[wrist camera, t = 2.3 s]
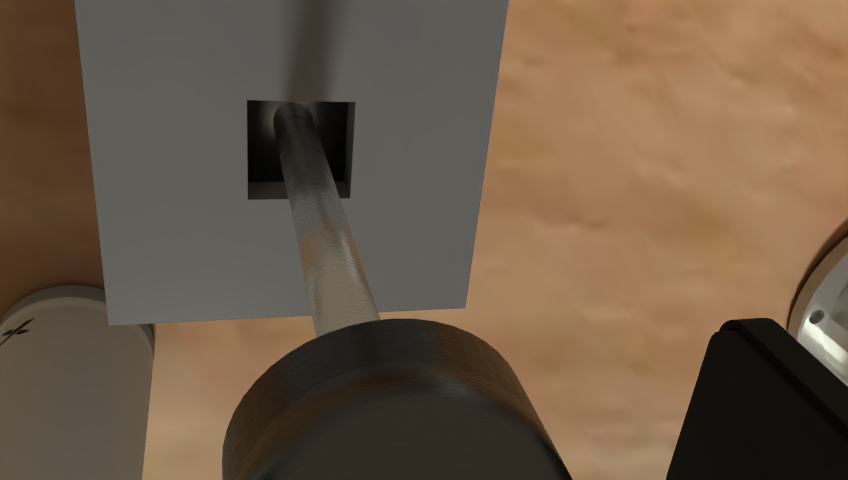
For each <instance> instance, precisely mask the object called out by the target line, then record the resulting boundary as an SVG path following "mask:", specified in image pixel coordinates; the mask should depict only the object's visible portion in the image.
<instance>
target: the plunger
mask: <svg viewBox="0 0 848 480" xmlns="http://www.w3.org/2000/svg"><path fill="white" fill-rule="evenodd" d="M347 117H348V102H326V101H268V100H247V164H248V182H285V186H286V191H287V196H288V201H289V205H290V210H291V215H292V220H293V225H294V230H295V235H296V240H297V245H298V250H299V254H300V259H301V264H302V269H303V274H304V279H305V284H306V289H307V294H308V299H309V303H310V308H311V313H312V318H313V323H314V328H315V333H316V338H315V339H313V340H311V341H309V342H307V343H305V344H303V345H302V346H300V347H298V348H297V349H295V350H293V351H291V352H290V353H288V354H287V355H285V356H284V357H283V358H282V359H280V360H279V361H278V362H276V363H275V364H274V365H272V366H271V367H270V368H269V369H268V370H267V371H266V372H265V373H264V374H263V375H262V376H261V377H260V378H259V379H257V380H256V382H255V383H254V384H253V385H252V387H251V388H250V389H249V390H248V392H247V393H246V394H245V395H244V397H243V398H242V400H241V402H240V403H239V405H238V407H237V408H236V410H235V412H234V413H233V416H232V418H231V421H230V423H229V426H228V428H227V431H226V436H225V440H224V444H223V456H222V479H223V480H572V478H571V476H570V474H569V472H568V470H567V468H566V467H565V465H564V463H563V461H562V459H561V457H560V455H559V454H558V452H557V450H556V448H555V446H554V444H553V443H552V441H551V439H550V437H549V435H548V433H547V431H546V430H545V428H544V426H543V424H542V422H541V420H540V418H539V417H538V415H537V413H536V411H535V409H534V407H533V406H532V404H531V402H530V400H529V398H528V396H527V394H526V393H525V391H524V389H523V387H522V385H521V383H520V381H519V380H518V378H517V376H516V374H515V373H514V371H513V370H512V368H511V366H510V365H509V363H508V362H507V361H506V360H505V359H504V358H503V357H502V356H501V355H500V353H499V352H498V351H496V350H495V349H494V348H493V347H491V346H490V345H489V344H488V343H486V342H485V341H483V340H482V339H480V338H478V337H476V336H475V335H473V334H471V333H469V332H467V331H464V330H462V329H459V328H456V327H454V326H451V325H447V324H443V323H439V322H435V321H427V320H419V319H385V320H380V317H379V314H378V311H377V308H376V305H375V302H374V299H373V296H372V293H371V290H370V287H369V284H368V281H367V278H366V275H365V272H364V269H363V266H362V263H361V260H360V257H359V254H358V251H357V248H356V245H355V242H354V239H353V236H352V233H351V230H350V227H349V224H348V221H347V218H346V215H345V212H344V209H343V207H342V204H341V201H340V198H339V195H338V192H337V189H336V186H335V183H334V182H343V181H344V174H345V155H346V136H347Z"/></svg>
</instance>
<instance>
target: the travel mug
mask: <svg viewBox="0 0 848 480" xmlns="http://www.w3.org/2000/svg"><path fill="white" fill-rule="evenodd" d="M154 349H155V347H154V338H153V334H152V332H151V329H150V326H149V324H133V325H113V326H109V324H108V315H107V305H106V296H105V290H103V289H99V288H95V287H91V286H82V285H62V286H55V287H50V288H46V289H42V290H39V291H37V292H34V293H32V294H29V295H27V296H26V297H24V298H23V299H21V300H20V301H18V302H17V303H15V304H14V305H13V306H12V307H11V308H10V309H9V310H8V311H7V312H6V313H5V315H4V316H3V318H2V320H1V321H0V480H142V473H143V462H144V452H145V442H146V432H147V421H148V411H149V401H150V390H151V380H152V368H153V359H154Z"/></svg>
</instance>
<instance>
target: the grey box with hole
mask: <svg viewBox="0 0 848 480" xmlns="http://www.w3.org/2000/svg"><path fill="white" fill-rule="evenodd" d="M508 1H509V0H74V3H75V12H76V22H77V31H78V40H79V50H80V59H81V69H82V78H83V88H84V97H85V107H86V116H87V126H88V135H89V144H90V154H91V163H92V173H93V182H94V192H95V201H96V211H97V220H98V230H99V239H100V249H101V258H102V267H103V277H104V286H105V296H106V305H107V315H108V324H109V326H113V325H133V324H153V323H173V322H193V321H213V320H234V319H254V318H274V317H294V316H312V313H311V308H310V303H309V299H308V294H307V289H306V284H305V279H304V274H303V269H302V264H301V259H300V254H299V250H298V245H297V240H296V235H295V230H294V225H293V220H292V215H291V210H290V205H289V201H288V196H287V191H286V186H285V182H248V164H247V100H268V101H326V102H348V117H347V136H346V155H345V174H344V181H343V182H334V183H335V186H336V189H337V192H338V195H339V198H340V201H341V204H342V207H343V209H344V212H345V215H346V218H347V221H348V224H349V227H350V230H351V233H352V236H353V239H354V242H355V245H356V248H357V251H358V254H359V257H360V260H361V263H362V266H363V269H364V272H365V275H366V278H367V281H368V284H369V287H370V290H371V293H372V296H373V299H374V302H375V305H376V308H377V311H378V312H394V311H414V310H434V309H454V308H465V306H466V299H467V292H468V285H469V278H470V271H471V264H472V257H473V250H474V242H475V235H476V228H477V221H478V214H479V207H480V200H481V193H482V186H483V178H484V171H485V164H486V157H487V150H488V143H489V136H490V129H491V122H492V114H493V107H494V100H495V93H496V86H497V79H498V72H499V65H500V58H501V50H502V43H503V36H504V29H505V22H506V15H507V8H508Z"/></svg>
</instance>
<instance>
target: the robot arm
mask: <svg viewBox="0 0 848 480" xmlns="http://www.w3.org/2000/svg"><path fill="white" fill-rule="evenodd" d="M666 480H848V236H847V237H846V238H844V239H843V240H842V241H841V242H840V243H839V244H838V245H837V246H836V247H835V248H834V249H833V250H832V251H831V252H830V253H829V254H828V255H827V256H825V258H824V259H823V260H822V261H821V263H820V264H819V265H818V266H817V268H816V269H815V270H814V271H813V273H812V274H811V275H810V277H809V279H808V280H807V282H806V284H805V285H804V287H803V289H802V290H801V292H800V294H799V296H798V299H797V301H796V304H795V306H794V308H793V311H792V313H791V318H790V322H789V327H788V331H786V330H785V329H784V328H783V327H781V326H780V325H779V324H778V323H777V322H775V321H774V320H772V319H769V318H754V319H738V320H730V321H727V322H725V323H724V324H723V325H722V326H721V328H720V330H719V332H716V333H714V334H713V335H712V337H711V339H710V341H709V344H708V347H707V350H706V353H705V357H704V360H703V363H702V366H701V369H700V372H699V376H698V379H697V382H696V385H695V388H694V391H693V394H692V398H691V401H690V404H689V407H688V410H687V413H686V416H685V420H684V423H683V426H682V429H681V432H680V435H679V439H678V442H677V445H676V448H675V451H674V454H673V457H672V461H671V464H670V467H669V470H668V473H667V477H666Z"/></svg>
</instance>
